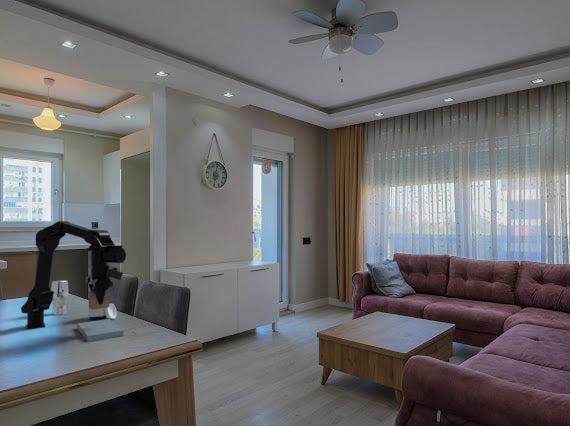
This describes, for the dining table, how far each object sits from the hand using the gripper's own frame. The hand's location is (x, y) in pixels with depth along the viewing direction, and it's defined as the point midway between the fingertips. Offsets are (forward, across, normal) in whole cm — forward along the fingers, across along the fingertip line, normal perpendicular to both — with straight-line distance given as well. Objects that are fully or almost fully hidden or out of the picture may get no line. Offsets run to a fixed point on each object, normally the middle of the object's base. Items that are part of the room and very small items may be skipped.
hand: (98, 303), depth 148 cm
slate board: (+11, 0, 0) cm, 11 cm away
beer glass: (+11, +46, +8) cm, 48 cm away
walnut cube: (+2, 0, 0) cm, 2 cm away
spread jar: (+11, +23, -6) cm, 27 cm away
